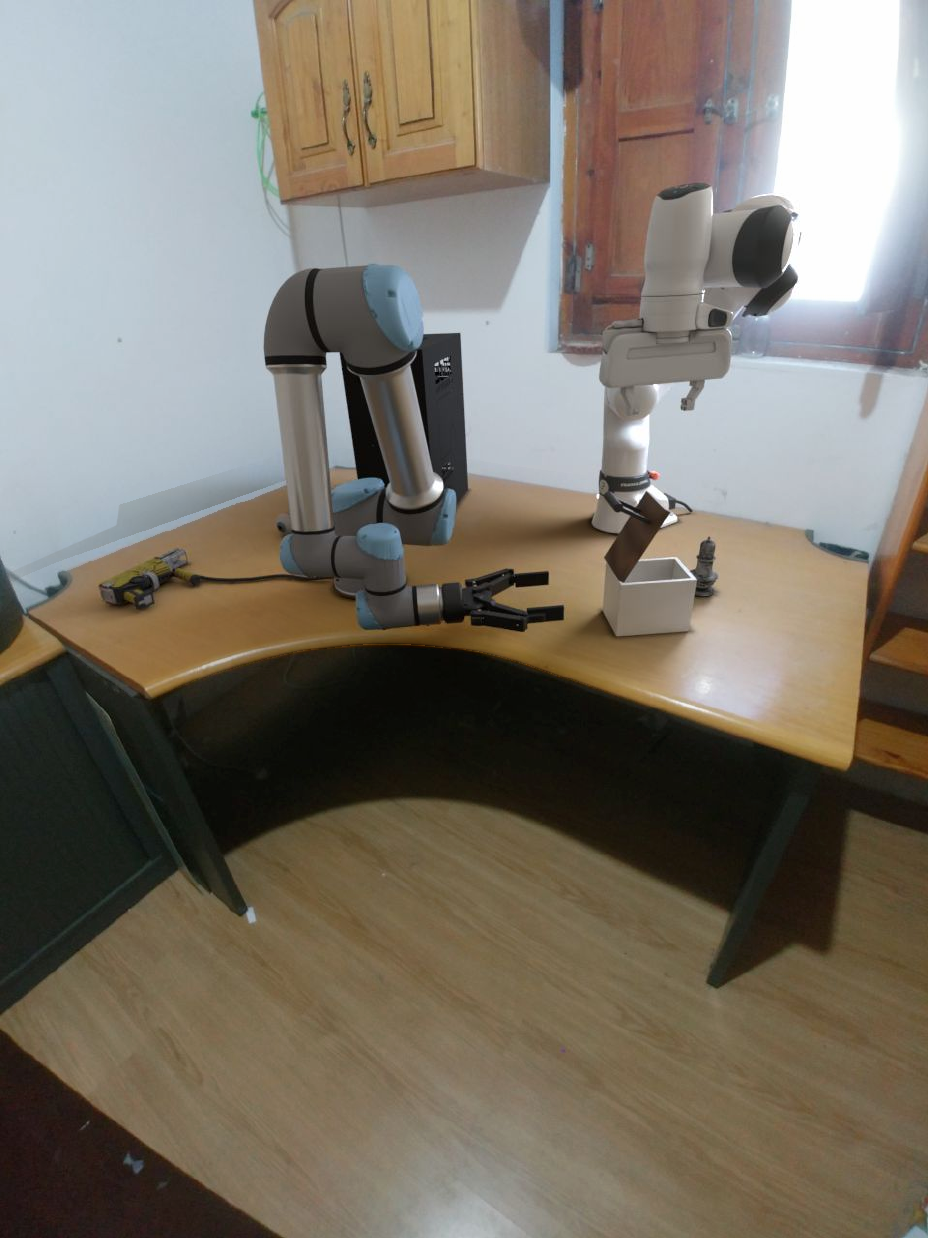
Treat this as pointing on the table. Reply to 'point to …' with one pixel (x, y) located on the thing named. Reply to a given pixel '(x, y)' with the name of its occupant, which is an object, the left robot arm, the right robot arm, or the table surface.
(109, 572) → the table surface
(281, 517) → the eyeball
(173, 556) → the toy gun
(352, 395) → the cardboard box
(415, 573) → the table surface
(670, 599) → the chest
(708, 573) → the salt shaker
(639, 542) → the lid
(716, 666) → the table surface
